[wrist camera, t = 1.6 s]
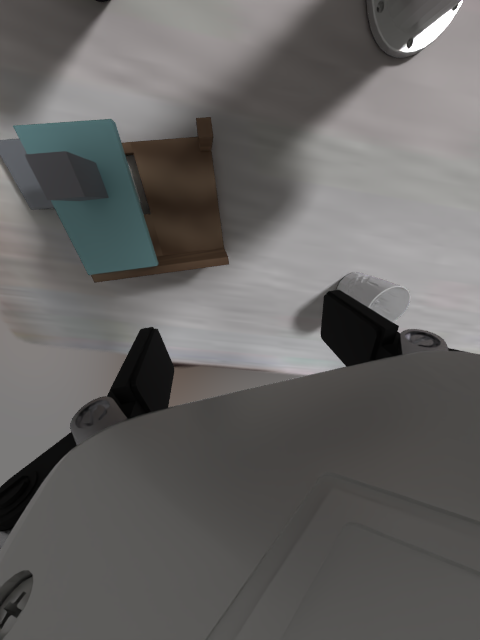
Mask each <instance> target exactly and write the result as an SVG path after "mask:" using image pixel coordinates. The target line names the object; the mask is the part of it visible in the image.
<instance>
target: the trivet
mask: <svg viewBox="0 0 480 640" xmlns="http://www.w3.org/2000/svg"><path fill="white" fill-rule="evenodd" d="M24 154H27V153H26V151H25V149H24V147H23V145H22V143H21V141H20V139H8V140H0V155H1V157H2V159H3V161H4V163H5V164H6V166H7V168H8V170H9V171H10V173H11V175H12V177H13V179H14V180H15V182H16V184H17V186H18V187H19V189H20V191H21V193H22V195H23V196H24V198H25V200H26V202H27V203H28V205H29V207H30V209H31V210H38V209H49V208H54V206H53V204H52V202H51V200H47V198H46V196H45V194H44V192H43V190H42V188H41V186H40V184H39V183H38V181H37V179H36V177H35V175H34V173H33V171H32V169H31V167H30V165H29V163H28V161H27V159H26V157H25V155H24Z"/></svg>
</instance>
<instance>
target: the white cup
mask: <svg viewBox="0 0 480 640" xmlns="http://www.w3.org/2000/svg"><path fill="white" fill-rule="evenodd" d="M337 290H341V291H342V292H344V293H346V294H347V295H349V296H351V297H352V298H354V299H355V300H357V301H359V302H360V303H362V304H364V305H365V306H367V307H368V308H370V309H372V310H373V311H375V312H377V313H378V314H380V315H381V316H383V317H385V318H386V319H388V320H390V321H391V322H395V321H396V320H397V319H399V318H400V317H401V316H402V315H403V313H404V312H405V311H406V309H407V308H408V306H409V303H410V292H409V290H408V289H407V288H405V287H403V286H400V285H397V284H394V283H392V282H389V281H386V280H383V279H380V278H377V277H374V276H370V275H366V274H364V273H361V272H352V273H350V274H348V275H346V276H345V277H344V278H343V279H342V280H341V281H340V282H339V285H338V287H337Z"/></svg>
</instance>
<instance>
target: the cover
mask: <svg viewBox="0 0 480 640" xmlns="http://www.w3.org/2000/svg"><path fill="white" fill-rule="evenodd" d="M13 127H14V129H15V131H16V133H17V135H18V137H19V139H20V141H21V143H22V145H23V147H24V149H25V151H26V153H27V154H24V155H25V157H26V159H27V161H28V163H29V165H30V167H31V169H32V171H33V173H34V175H35V177H36V179H37V181H38V183H39V184H40V186H41V188H42V190H43V192H44V194H45V196H46V198H47V200H51V202H52V204H53V206H54V208H55V210H56V212H57V214H58V216H59V218H60V220H61V222H62V224H63V226H64V228H65V230H66V232H67V234H68V236H69V238H70V240H71V242H72V244H73V245H74V247H75V249H76V251H77V253H78V255H79V257H80V259H81V261H82V263H83V265H84V267H85V269H86V271H87V273H88V275H93V274H100V273H108V272H115V271H123V270H130V269H138V268H145V267H153V266H157V265H158V260H157V257H156V254H155V251H154V247H153V244H152V241H151V238H150V234H149V231H148V228H147V225H146V221H145V218H144V215H143V212H142V208H141V205H140V202H139V199H138V195H137V192H136V189H135V186H134V182H133V179H132V176H131V172H130V169H129V166H128V163H127V159H126V156H125V153H124V150H123V146H122V143H121V140H120V137H119V133H118V130H117V127H116V124H115V122H114V121H113V120H112V119H104V120H89V121H75V122H60V123H46V124H32V125H17V126H13Z"/></svg>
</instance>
